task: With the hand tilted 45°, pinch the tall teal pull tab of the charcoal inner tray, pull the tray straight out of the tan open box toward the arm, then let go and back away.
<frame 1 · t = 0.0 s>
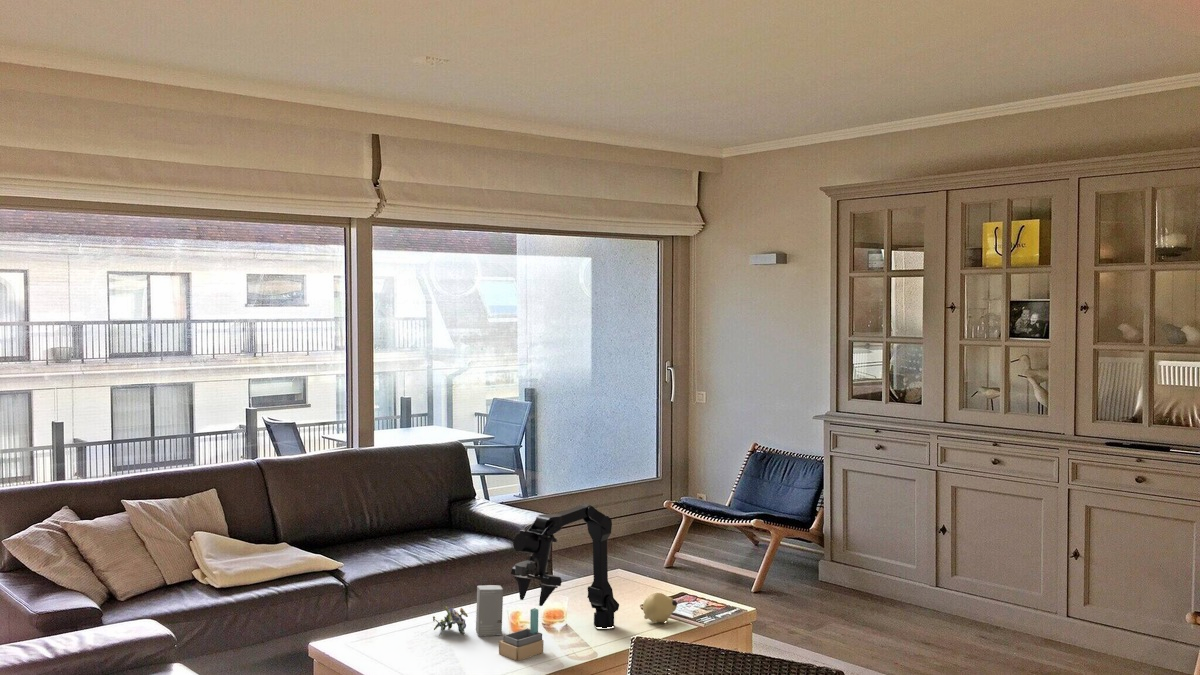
hand: (530, 602, 314), 15 cm above the table, tool pointing down, fingers open, 9 cm apart
tan open box: (521, 653, 311), on the table
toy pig: (659, 623, 345), on the table
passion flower: (450, 635, 328), on the table
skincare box: (489, 633, 331), on the table
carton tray: (523, 631, 312), point 7 cm above the table, slide at 0.0 cm
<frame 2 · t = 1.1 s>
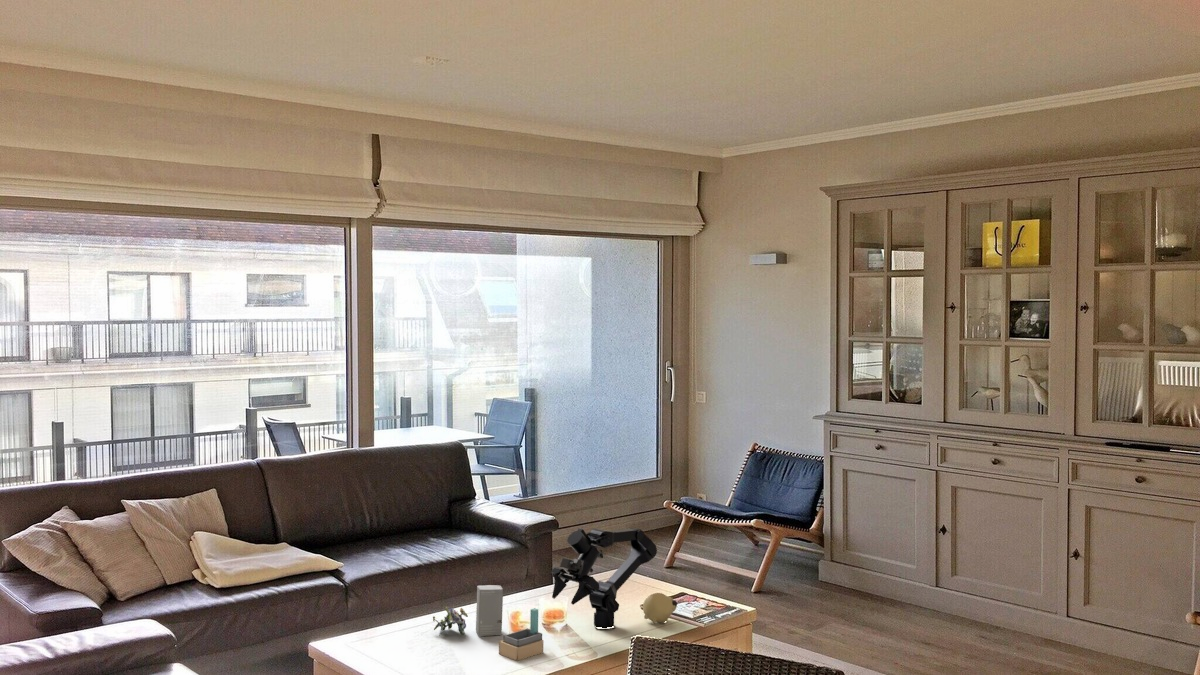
hand: (562, 600, 324), 13 cm above the table, tool tilted 45°, fingers open, 9 cm apart
nothing on the table moved.
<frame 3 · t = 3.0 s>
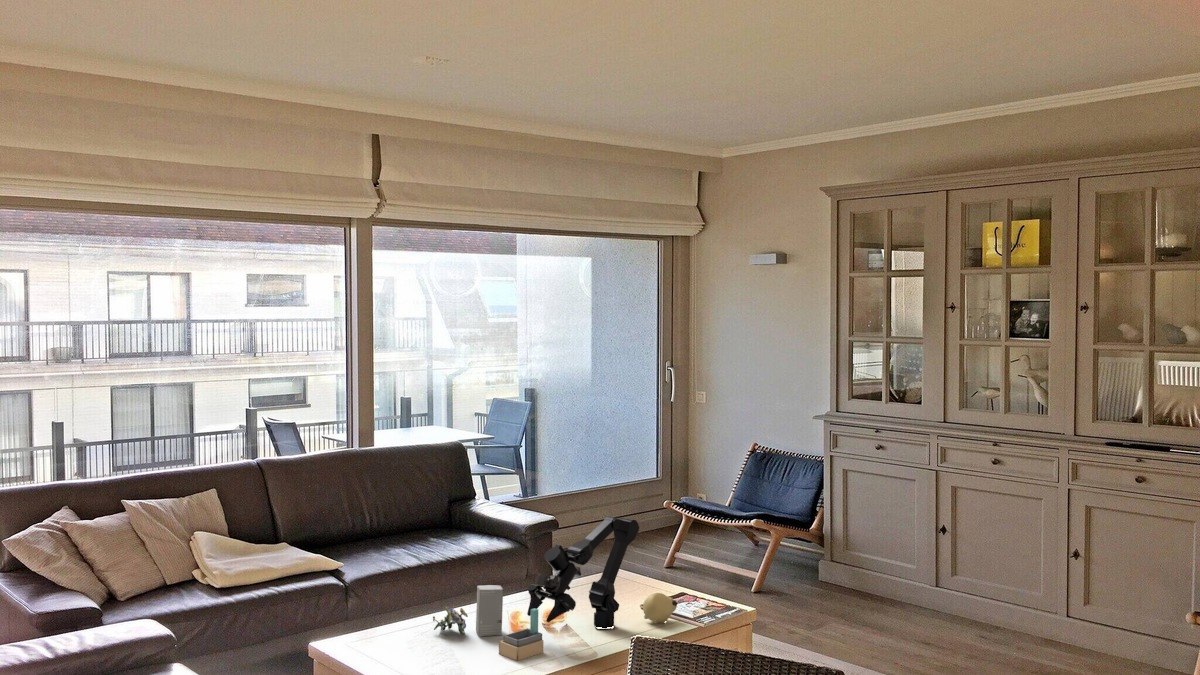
hand: (537, 618, 316), 10 cm above the table, tool tilted 45°, fingers open, 9 cm apart
nothing on the table moved.
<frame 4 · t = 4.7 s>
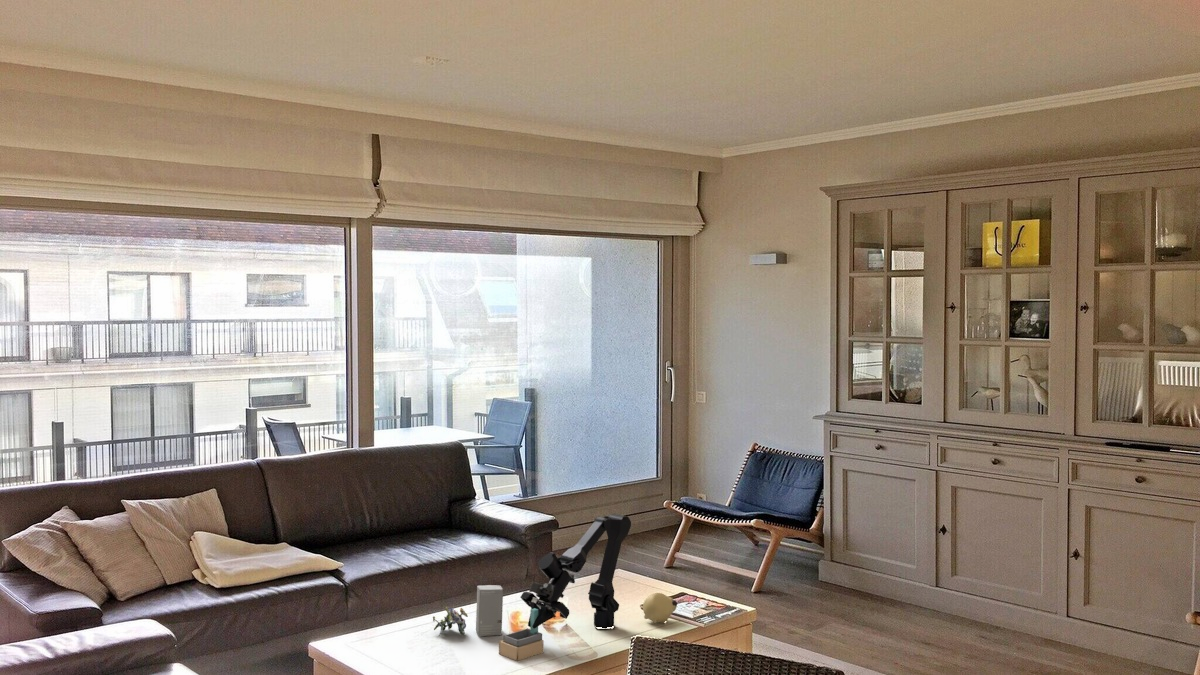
hand: (531, 626, 314), 8 cm above the table, tool tilted 45°, fingers closed on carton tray, 2 cm apart
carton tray: (523, 631, 312), point 7 cm above the table, slide at 0.0 cm, touching gripper
everything else where it was.
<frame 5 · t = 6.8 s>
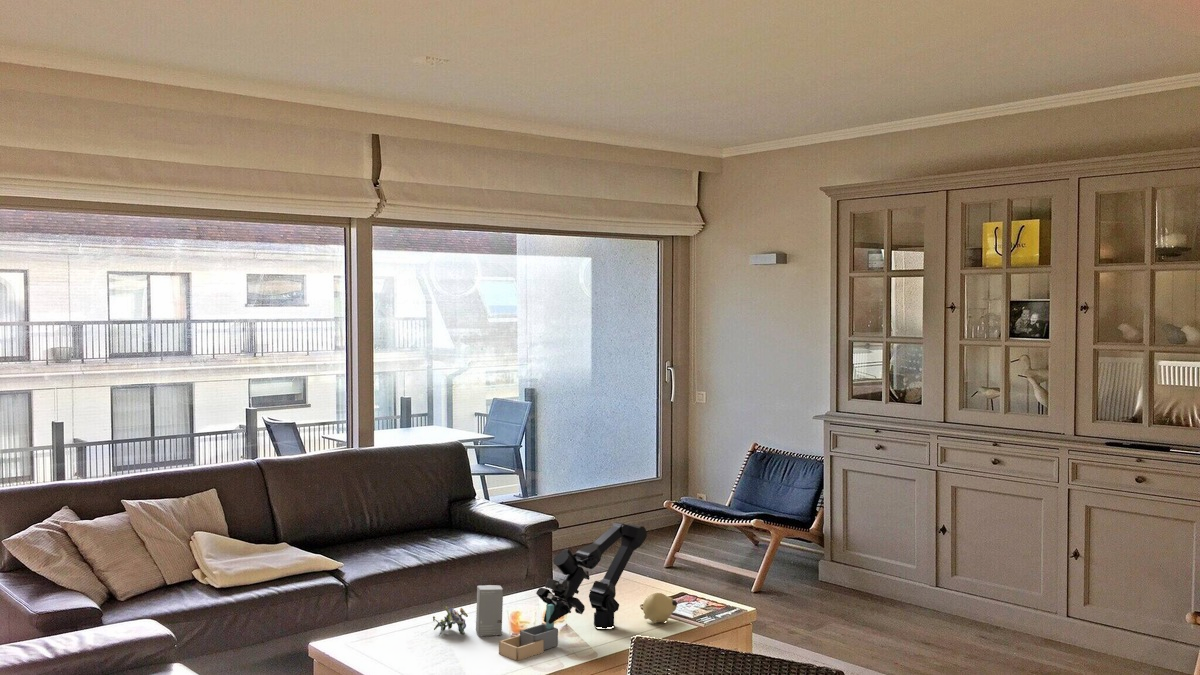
hand: (546, 622, 319), 8 cm above the table, tool tilted 45°, fingers closed on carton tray, 2 cm apart
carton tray: (539, 627, 317), point 7 cm above the table, slide at 7.0 cm, touching gripper
everything else where it was.
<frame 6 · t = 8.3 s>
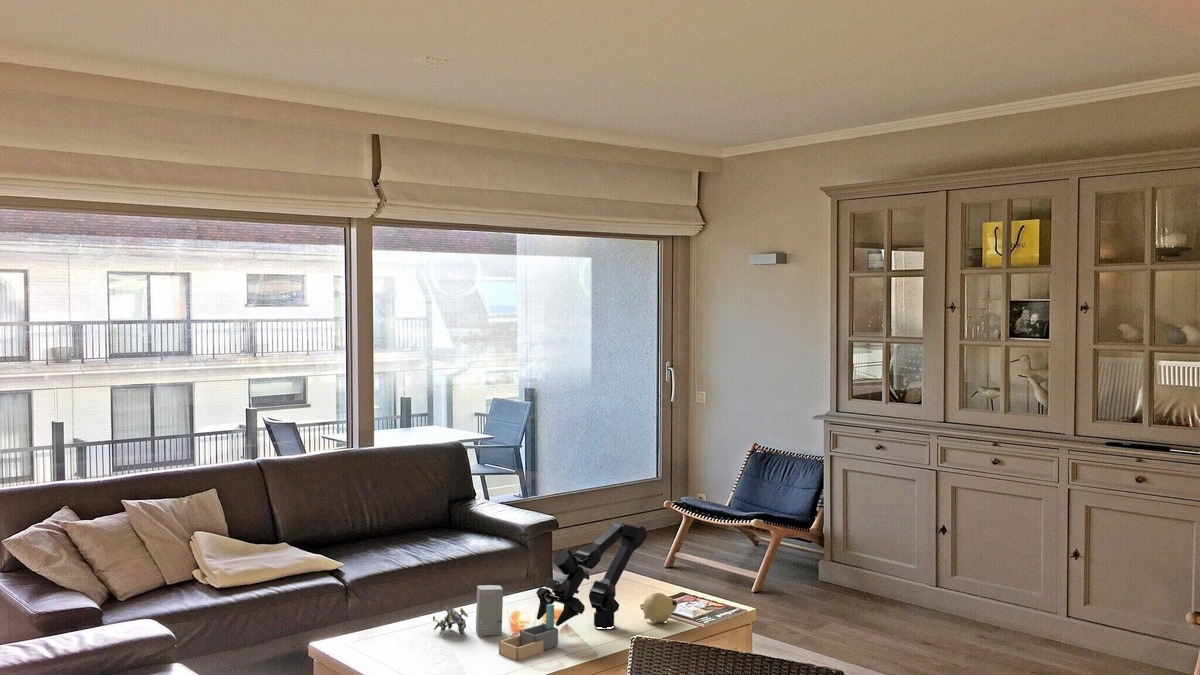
hand: (546, 622, 319), 8 cm above the table, tool tilted 45°, fingers open, 9 cm apart
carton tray: (539, 627, 317), point 7 cm above the table, slide at 7.0 cm
everything else where it was.
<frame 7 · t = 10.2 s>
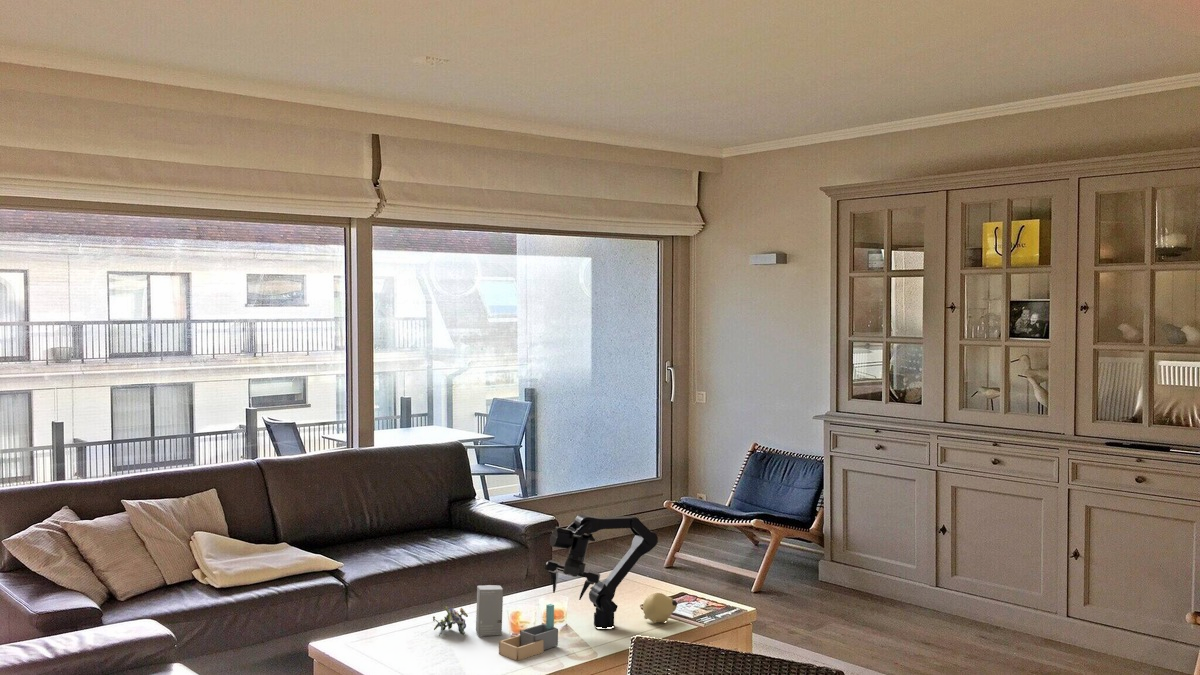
hand: (566, 596, 332), 12 cm above the table, tool pointing down, fingers open, 9 cm apart
nothing on the table moved.
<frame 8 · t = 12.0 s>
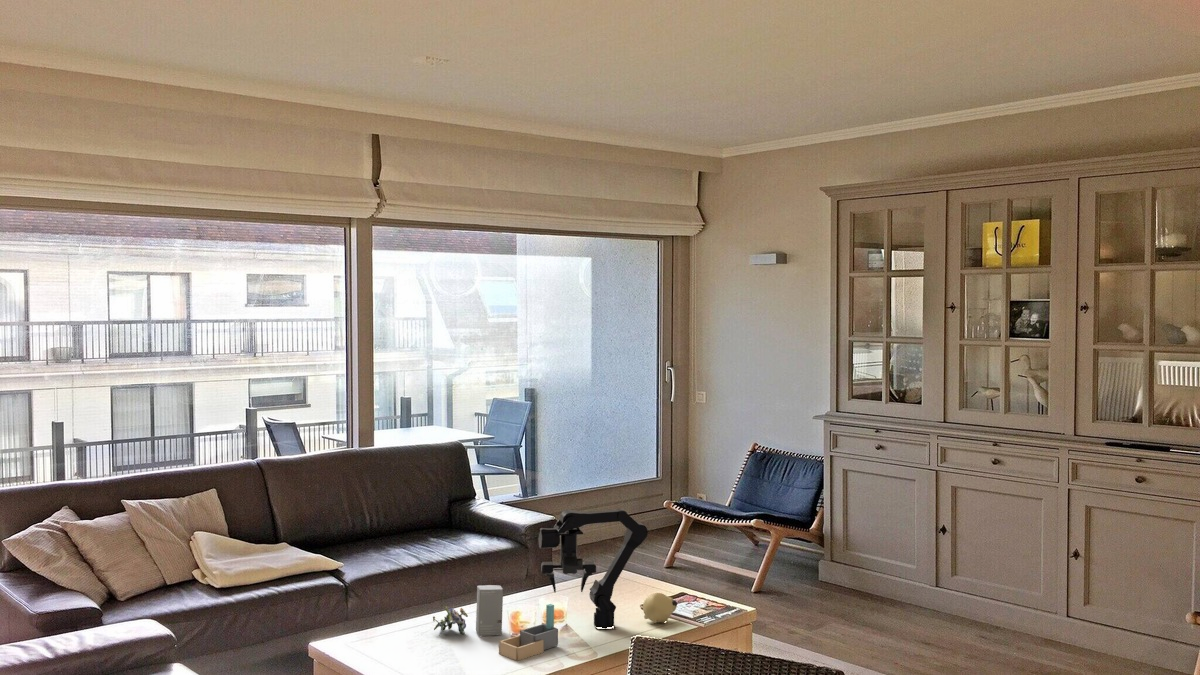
hand: (568, 592, 335), 13 cm above the table, tool pointing down, fingers open, 9 cm apart
nothing on the table moved.
at the end: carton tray slide at 7.0 cm; the gripper is holding nothing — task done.
